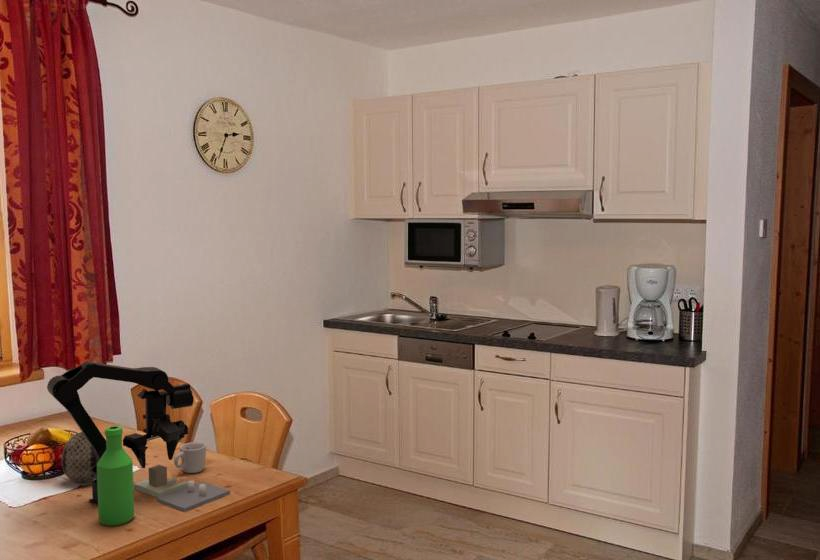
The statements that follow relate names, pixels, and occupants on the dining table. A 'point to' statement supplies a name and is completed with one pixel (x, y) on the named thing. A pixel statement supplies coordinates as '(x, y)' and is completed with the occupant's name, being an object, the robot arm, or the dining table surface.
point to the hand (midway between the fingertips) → (157, 463)
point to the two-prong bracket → (159, 483)
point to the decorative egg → (78, 459)
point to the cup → (191, 457)
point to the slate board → (193, 496)
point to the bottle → (115, 481)
